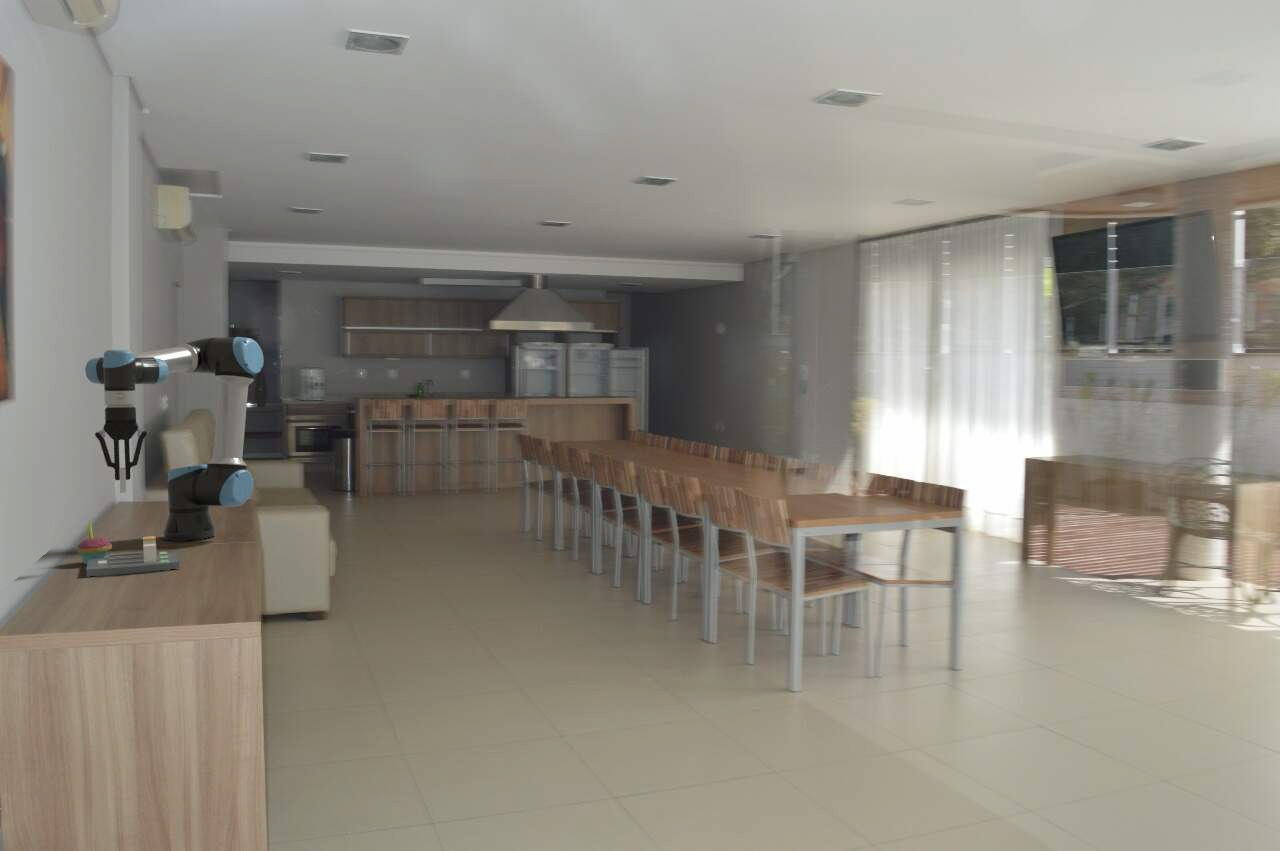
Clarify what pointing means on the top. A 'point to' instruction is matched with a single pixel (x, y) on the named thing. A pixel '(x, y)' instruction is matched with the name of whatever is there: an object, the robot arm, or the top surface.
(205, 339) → the robot arm
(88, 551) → the cupcake
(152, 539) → the breaker handle
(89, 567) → the panel
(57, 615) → the top surface
